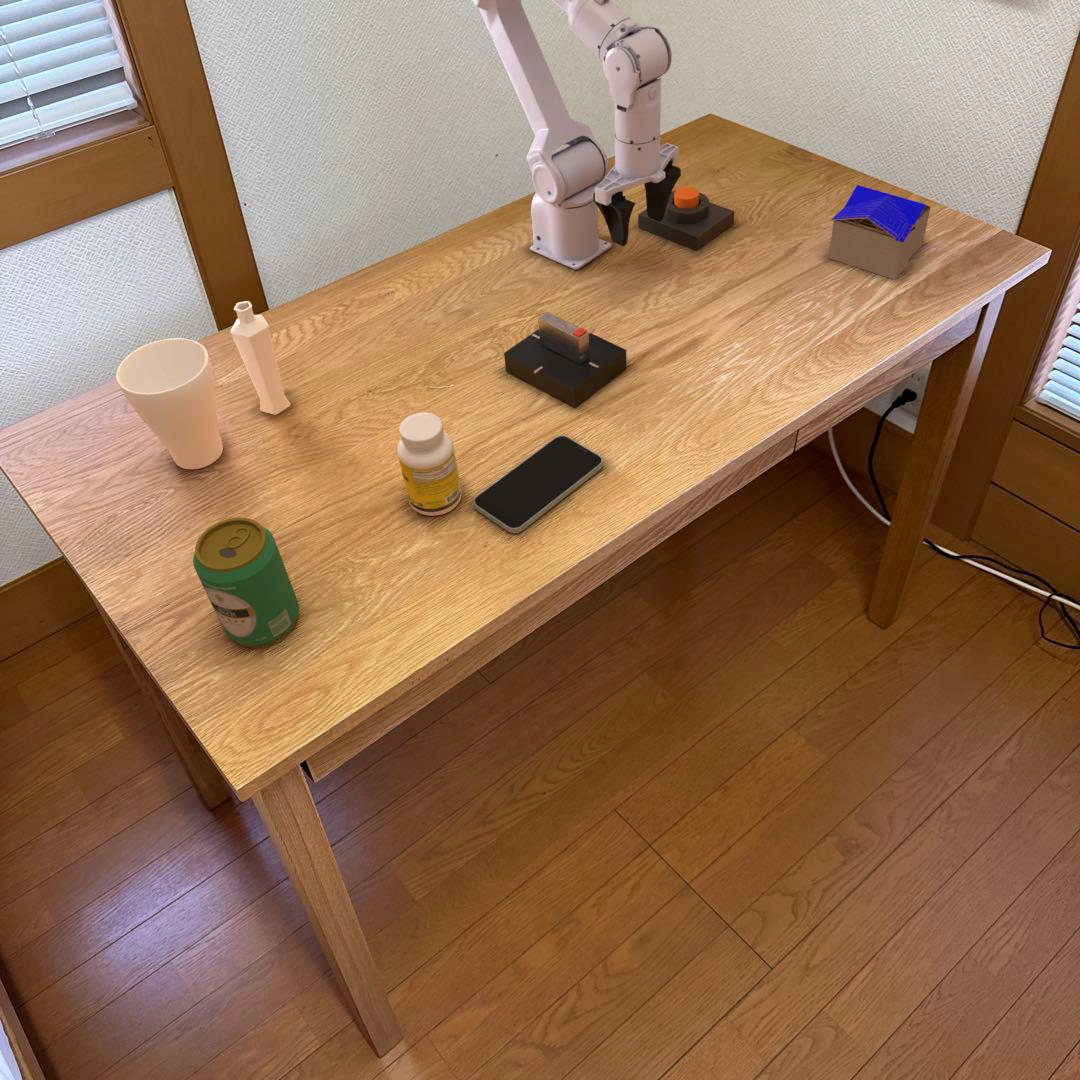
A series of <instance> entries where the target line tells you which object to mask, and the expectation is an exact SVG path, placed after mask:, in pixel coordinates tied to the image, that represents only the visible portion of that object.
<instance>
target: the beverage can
mask: <svg viewBox="0 0 1080 1080" xmlns="http://www.w3.org/2000/svg"><path fill="white" fill-rule="evenodd" d="M192 564H193V568H194V570H195V572H196V574H197V577H198V578H199V581H200V583H201V585H202V587H203V590H204V592H205V593H206V597H207V598H208V600H209V602H210V605H211V606H212V609H213V611H214V613H215V615H216V617H217V619H218V621H219V623H220V626H221V627H222V629H223V632H224V633H225V635H226V636H227V638H229V639H230V640H232V641H233V642H235V643H236V644H237V643H238V644H239V645H241V646H244V647H246V648H256V649H257V648H264V647H265V648H266V647H269V646H271V645H272V646H273V645H274V644H276V643H278V642H280V641H281V640H283V639H284V638H286V637H287V636H288V634H290V633H291V631H292V630H293V628H294V627H295V626H296V622H297V618H298V616H299V612H300V604H299V601H298V597H297V595H296V592H295V590H294V587H293V585H292V581H291V580H290V577H289V574H288V571H287V569H286V566H285V563H284V561H283V558H282V555H281V553H280V550H279V547H278V545H277V542H276V539H275V538H274V535H273V533H271V531H270V530H269V529H268V528H267V527H265V526H263V525H262V524H261V523H259V522H258V521H256V520H255V519H252V518H247V517H231V518H227V519H223V520H220V521H218V522H216V523H214V524H212V525H211V526H210V527H208V528H207V529H205V530H204V531H203V532H202V533H201V534H200V536H199V537H198V539H197V540H196V543H195V546H194V553H193V558H192Z"/></svg>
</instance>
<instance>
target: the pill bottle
mask: <svg viewBox="0 0 1080 1080" xmlns="http://www.w3.org/2000/svg"><path fill="white" fill-rule="evenodd" d="M398 432H399V435H400V440H399V442H398V444H397V452H396V453H397V458H398V461H399V467H400V470H401V474H402V479H403V483H404V487H405V491H406V495H407V500H408V503H409V505H410V507H411V508H412V509H413V510H414V511H415V512H416V513H418V514H420V515H424V516H429V517H430V516H431V517H433V516H434V517H435V516H441V515H444V514H447V513H450V512H451V511H453V510H454V509H455V508H456V507H457V506H458V504H459V503H460V502H461V499H462V493H463V492H462V485H461V479H460V474H459V469H458V462H457V458H456V453H455V446H454V442H453V439H452V437H451V436H450V434H449V433H447V432H446V431H445V430H444V425H443V422H442V419H441V418H440V417H439V416H438V415H436V414H434V413H431V412H417V413H413V414H410V415H408V416H407V417H405V418H404V420H402V422H401V423H400V425H399V431H398Z"/></svg>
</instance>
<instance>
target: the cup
mask: <svg viewBox="0 0 1080 1080" xmlns="http://www.w3.org/2000/svg"><path fill="white" fill-rule="evenodd" d="M209 355H210V354H209V352H208V350H207V348H206V347H205V346H204V345H203V344H201V343H199V342H198V341H196V340H194V339H193V340H192V339H189V338H183V337H182V338H181V337H173V338H163V339H160V340H155V341H152V342H149V343H147V344H145V345H142V346H140V347H138V348H137V349H135V350H133V351H132V352H131V353H129V354H128V355H127V356H126V357H124V359H123V360H122V361H121V362H120V364H119V365H118V367H117V370H116V373H115V378H116V383H117V385H118V386H119V388H120V390H121V391H122V394H123V395H124V397H125V399H126V400H127V401H128V403H129V404H130V406H131V407H132V408H133V410H134V411H135V413H136V414H137V415H138V416H139V418H140V419H141V421H143V423H144V424H145V425H146V426H147V427H148V428H149V429H150V430H151V431H152V433H153V434H154V435H155V436H156V437H157V438H158V440H159V441H160V442H161V443H162V445H163V446H164V447H165V448H166V449H167V451H168V454H169V455H170V456H171V458H172V460H173V461H174V463H175V465H177V466H178V467H179V468H182V469H185V470H199V469H202V468H206V467H208V466H210V465H212V464H214V463H215V462H216V461H217V460H218V459H219V458H220V457H221V456H222V454H223V450H224V446H223V441H222V438H221V434H220V427H219V419H218V418H219V417H218V401H217V399H218V398H217V390H216V382H215V375H214V370H213V366H212V363H211V360H210V356H209Z"/></svg>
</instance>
